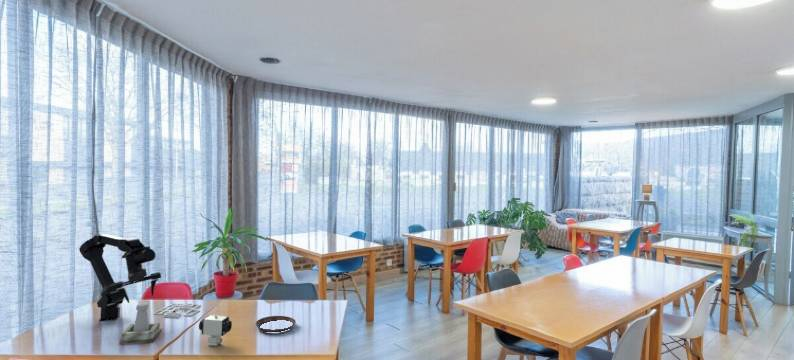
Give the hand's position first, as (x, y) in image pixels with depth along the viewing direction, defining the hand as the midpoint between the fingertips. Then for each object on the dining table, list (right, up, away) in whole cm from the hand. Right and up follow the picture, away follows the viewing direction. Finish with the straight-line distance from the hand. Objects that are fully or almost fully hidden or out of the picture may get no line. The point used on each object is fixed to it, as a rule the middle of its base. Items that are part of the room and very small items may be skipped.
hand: (140, 299), depth 183 cm
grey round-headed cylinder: (+9, -11, -14) cm, 20 cm away
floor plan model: (+10, -13, +19) cm, 25 cm away
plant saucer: (+60, -14, +3) cm, 62 cm away
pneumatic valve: (+42, -13, -17) cm, 47 cm away
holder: (+9, -12, -14) cm, 20 cm away
